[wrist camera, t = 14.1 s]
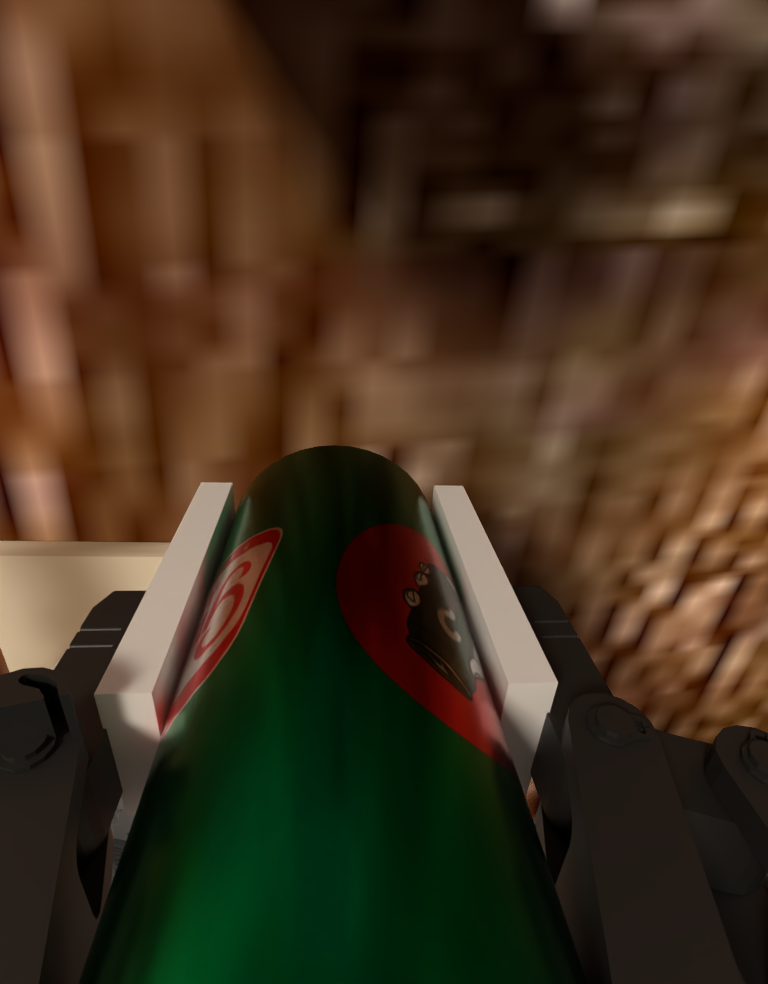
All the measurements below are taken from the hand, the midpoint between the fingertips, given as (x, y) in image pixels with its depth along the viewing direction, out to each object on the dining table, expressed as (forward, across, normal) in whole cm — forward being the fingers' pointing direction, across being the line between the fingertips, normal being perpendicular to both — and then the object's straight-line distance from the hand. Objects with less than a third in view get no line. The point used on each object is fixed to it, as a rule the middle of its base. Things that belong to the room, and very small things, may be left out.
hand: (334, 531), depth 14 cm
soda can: (+1, 0, 0) cm, 1 cm away
